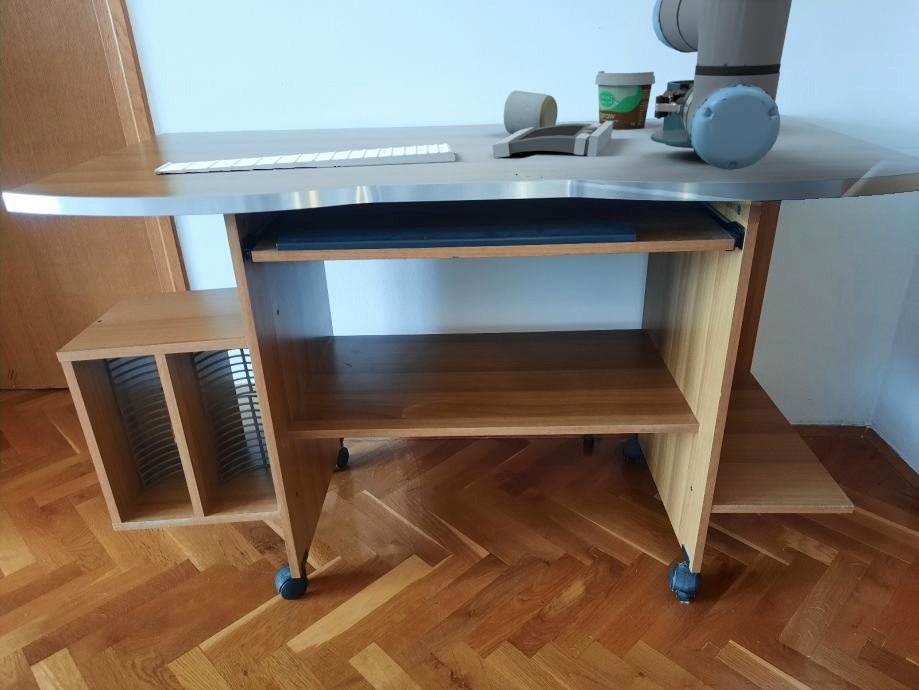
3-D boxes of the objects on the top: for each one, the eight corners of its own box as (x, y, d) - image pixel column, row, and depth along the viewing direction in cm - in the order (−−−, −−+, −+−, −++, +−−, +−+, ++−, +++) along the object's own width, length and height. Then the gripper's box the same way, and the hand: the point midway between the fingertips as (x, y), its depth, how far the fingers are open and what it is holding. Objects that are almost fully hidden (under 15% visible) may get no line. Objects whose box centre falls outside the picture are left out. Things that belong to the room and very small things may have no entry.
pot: (743, 128, 118) (751, 78, 115) (711, 141, 107) (719, 86, 103) (682, 125, 125) (687, 78, 121) (645, 136, 113) (650, 85, 110)
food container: (579, 127, 127) (582, 72, 123) (598, 123, 131) (601, 70, 127) (632, 132, 119) (637, 73, 115) (651, 128, 123) (656, 71, 118)
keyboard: (153, 175, 95) (150, 165, 94) (170, 166, 102) (168, 156, 101) (455, 161, 97) (454, 150, 97) (451, 152, 105) (451, 142, 104)
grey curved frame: (598, 136, 93) (490, 126, 97) (593, 168, 95) (488, 157, 99) (613, 121, 107) (519, 113, 112) (609, 150, 109) (517, 140, 114)
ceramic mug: (542, 138, 115) (544, 92, 112) (502, 136, 119) (502, 92, 116) (565, 131, 123) (567, 88, 120) (526, 130, 127) (527, 88, 124)
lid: (757, 139, 90) (768, 69, 86) (727, 153, 82) (738, 76, 78) (670, 134, 98) (677, 70, 94) (635, 147, 89) (640, 76, 85)
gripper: (642, 147, 75) (639, 122, 95) (788, 147, 71) (752, 120, 92) (648, 78, 71) (644, 67, 92) (801, 74, 68) (761, 63, 88)
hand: (698, 93), depth 92 cm, fingers closed on lid, 3 cm apart
